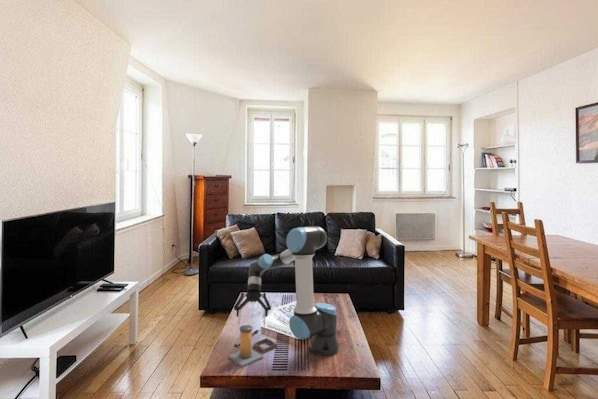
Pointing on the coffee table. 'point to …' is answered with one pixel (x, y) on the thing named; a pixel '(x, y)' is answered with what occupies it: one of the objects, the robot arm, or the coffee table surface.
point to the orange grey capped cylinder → (245, 342)
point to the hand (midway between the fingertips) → (251, 322)
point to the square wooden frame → (267, 347)
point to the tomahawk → (251, 336)
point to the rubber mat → (244, 362)
